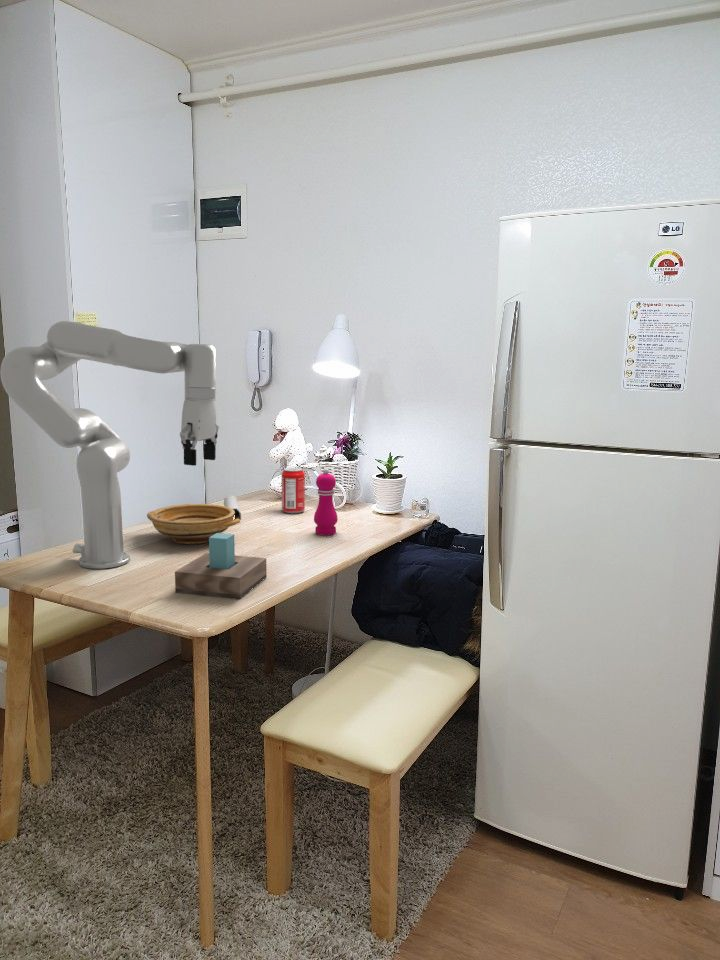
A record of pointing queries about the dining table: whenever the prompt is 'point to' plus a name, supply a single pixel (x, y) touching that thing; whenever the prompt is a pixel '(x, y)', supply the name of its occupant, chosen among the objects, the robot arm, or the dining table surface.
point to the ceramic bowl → (192, 521)
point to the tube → (233, 505)
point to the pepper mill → (325, 505)
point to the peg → (221, 551)
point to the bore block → (220, 577)
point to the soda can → (293, 490)
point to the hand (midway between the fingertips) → (200, 462)
